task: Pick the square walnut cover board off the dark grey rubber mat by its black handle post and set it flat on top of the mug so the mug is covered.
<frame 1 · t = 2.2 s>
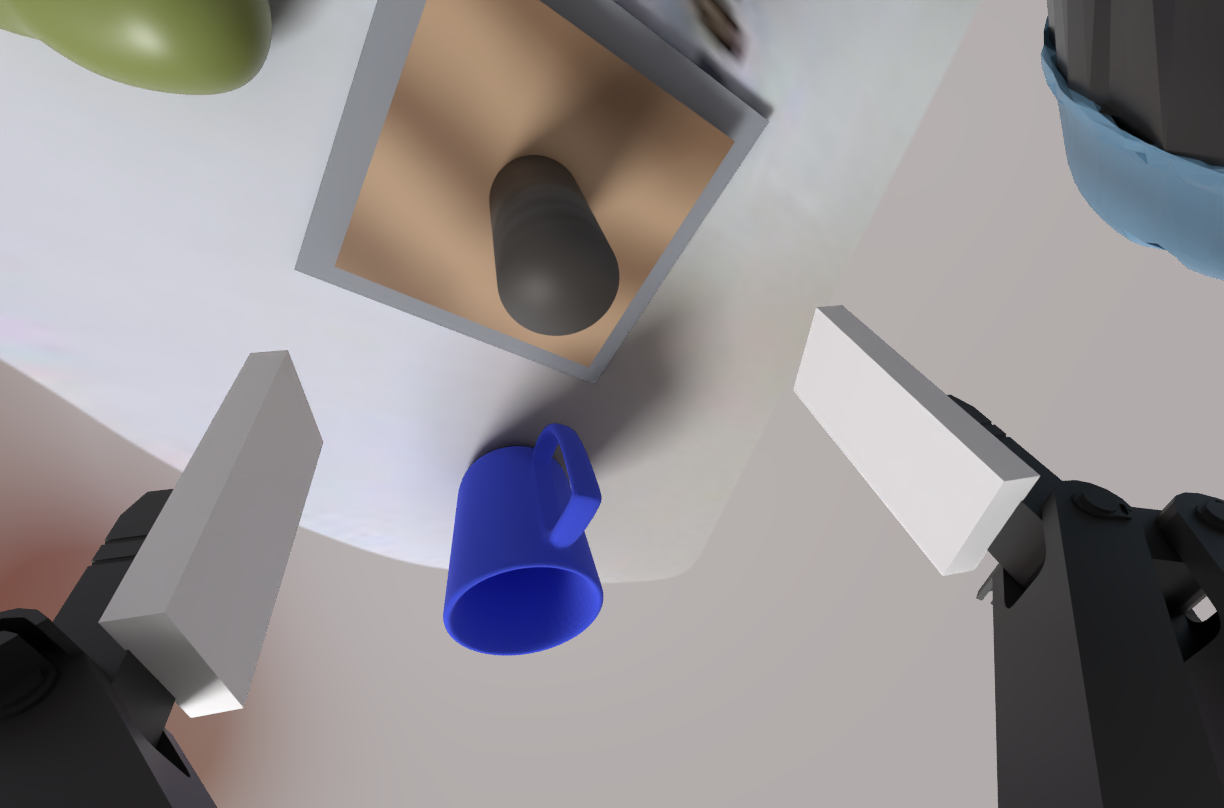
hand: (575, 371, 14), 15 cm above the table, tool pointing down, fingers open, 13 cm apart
mat: (532, 191, 25), on the table
lid: (533, 195, 25), resting on mat
mug: (524, 454, 35), on the table
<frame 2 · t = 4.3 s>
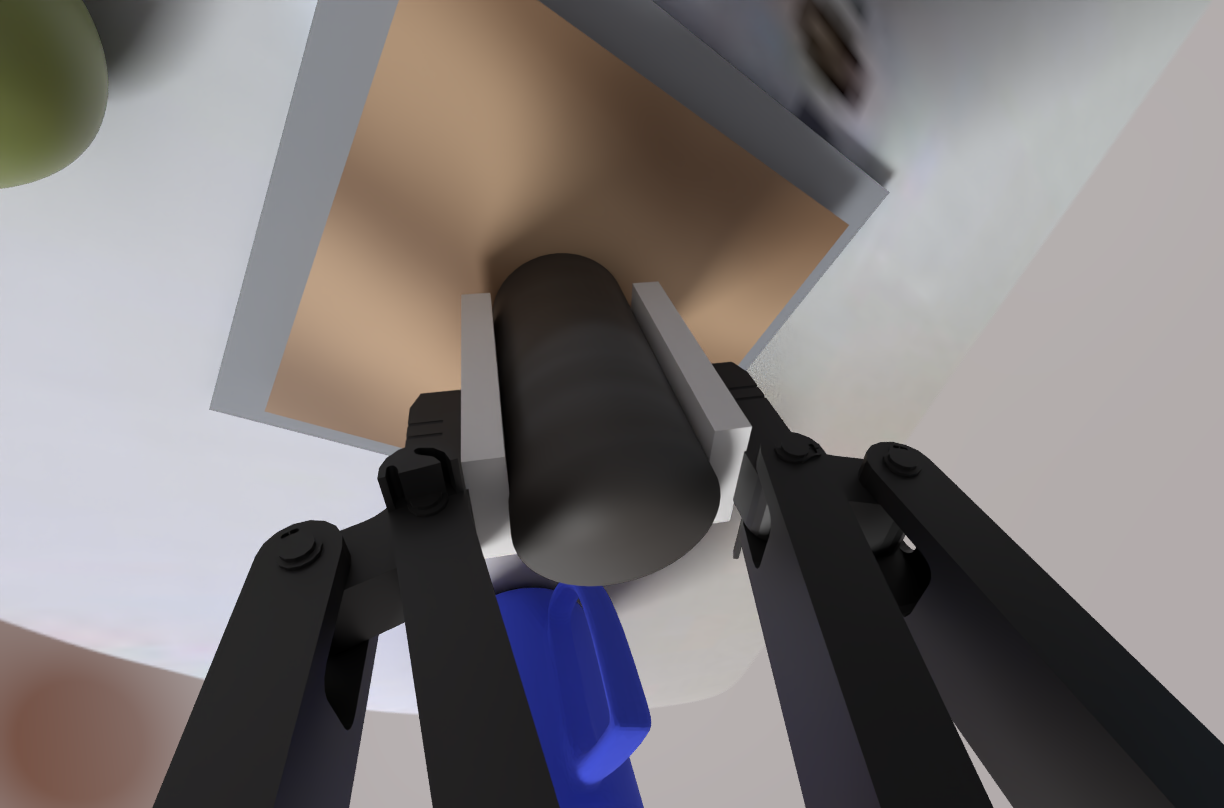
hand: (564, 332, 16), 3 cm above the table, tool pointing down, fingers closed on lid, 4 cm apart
mat: (552, 292, 18), on the table
lid: (555, 299, 17), point 1 cm above the table, touching gripper
mug: (535, 592, 28), on the table
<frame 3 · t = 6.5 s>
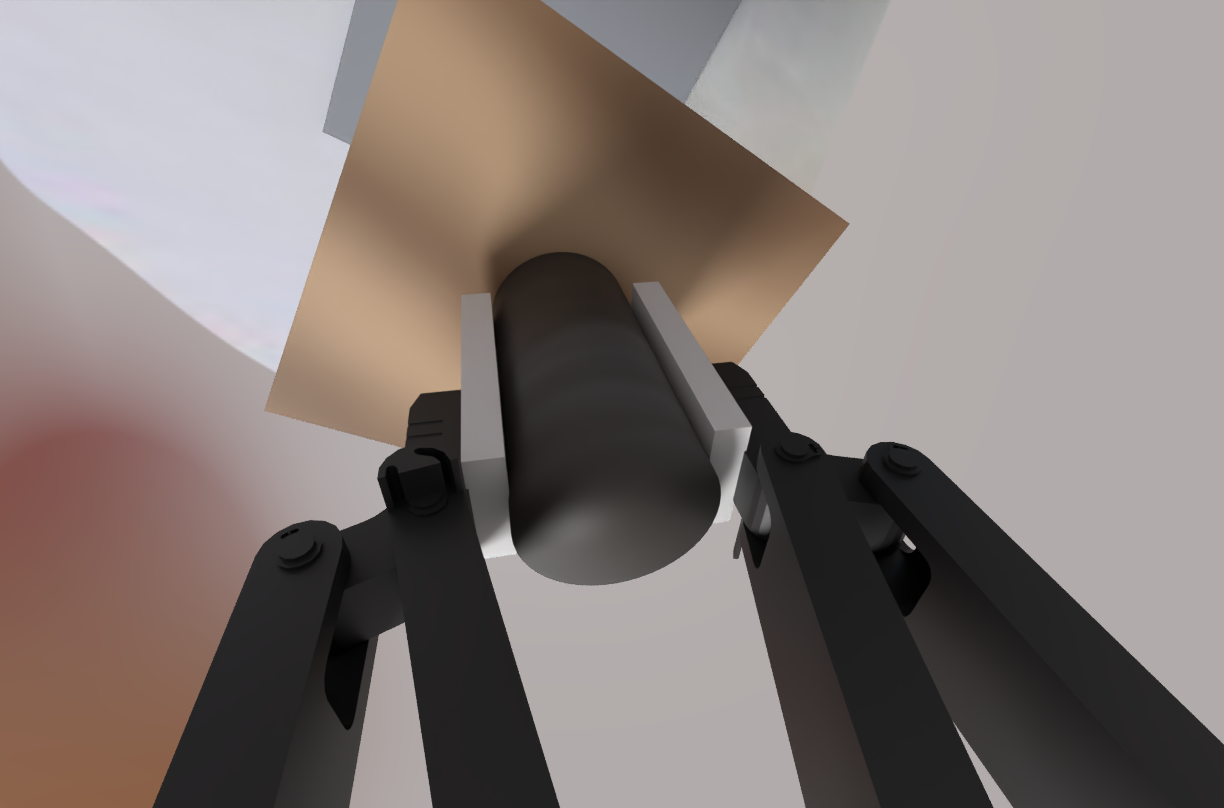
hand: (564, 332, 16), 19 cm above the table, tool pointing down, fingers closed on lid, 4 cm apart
mat: (534, 56, 28), on the table
lid: (555, 298, 17), point 17 cm above the table, touching gripper
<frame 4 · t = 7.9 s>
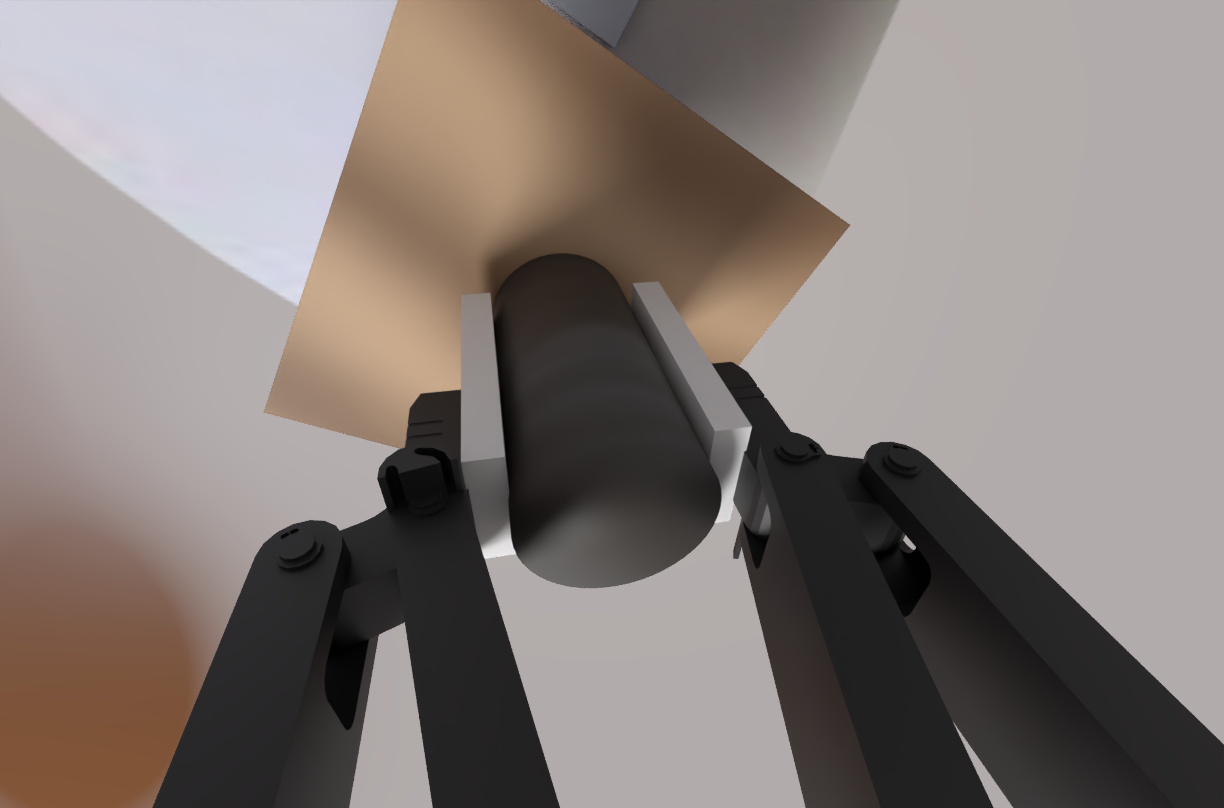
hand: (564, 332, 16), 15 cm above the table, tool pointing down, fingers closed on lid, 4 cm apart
lid: (555, 299, 17), point 13 cm above the table, touching gripper
when the fingers open (14 cm above the table, at t = 8.7 s): lid drops 2 cm, resting on mug.
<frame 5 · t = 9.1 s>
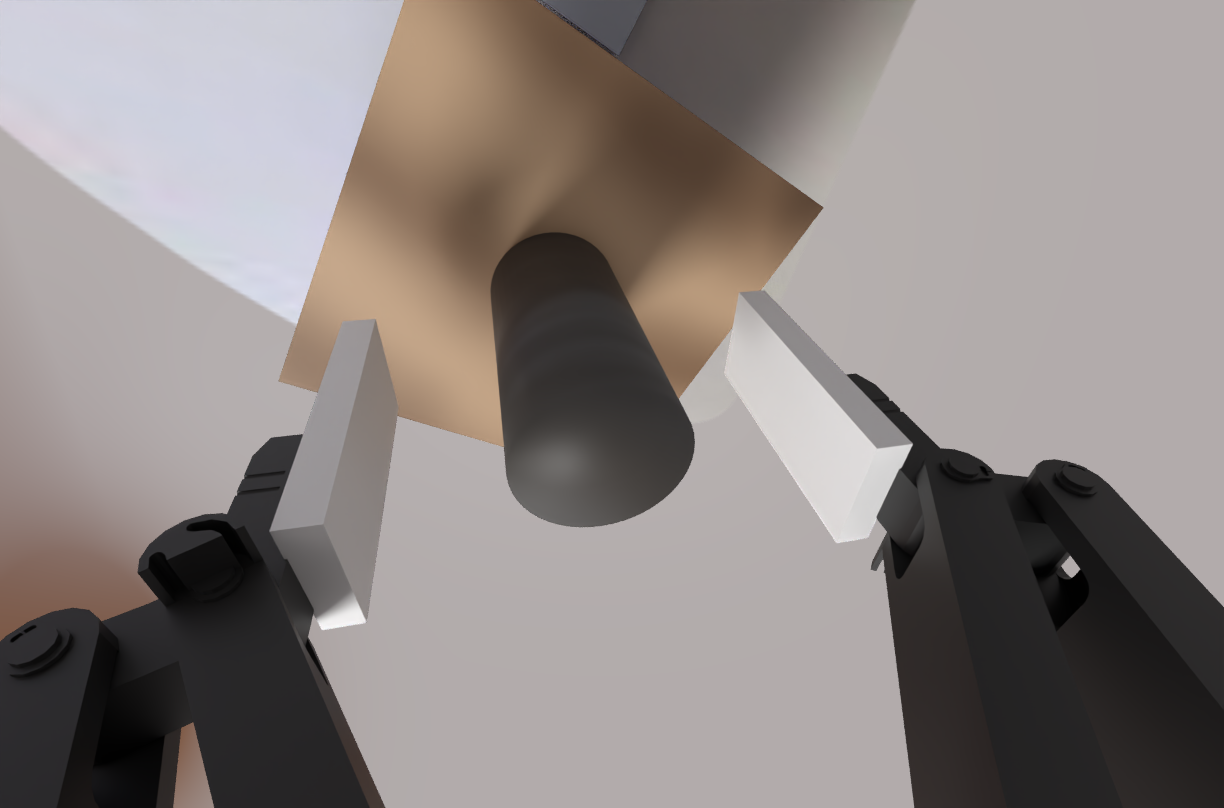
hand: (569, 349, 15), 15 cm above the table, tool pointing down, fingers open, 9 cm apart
lid: (549, 277, 19), point 10 cm above the table, touching mug
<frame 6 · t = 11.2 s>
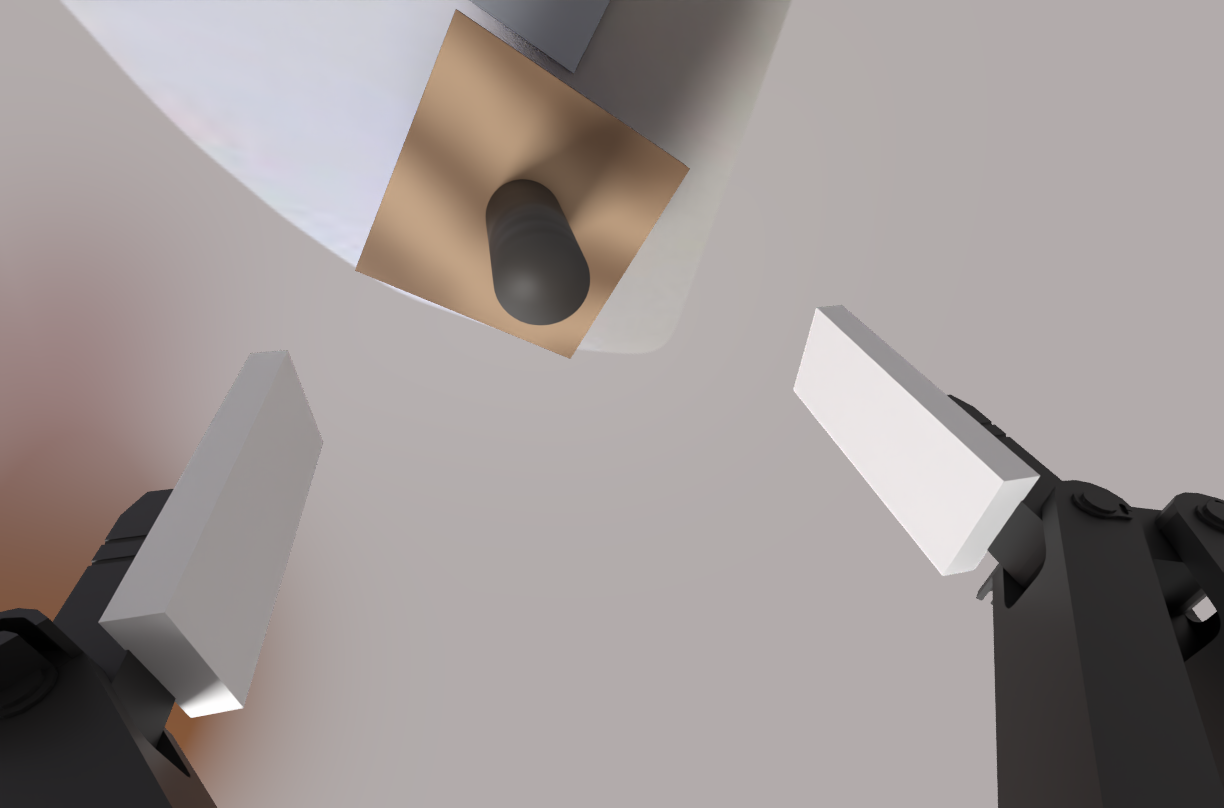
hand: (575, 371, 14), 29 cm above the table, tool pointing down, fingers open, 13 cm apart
lid: (522, 211, 30), point 10 cm above the table, touching mug
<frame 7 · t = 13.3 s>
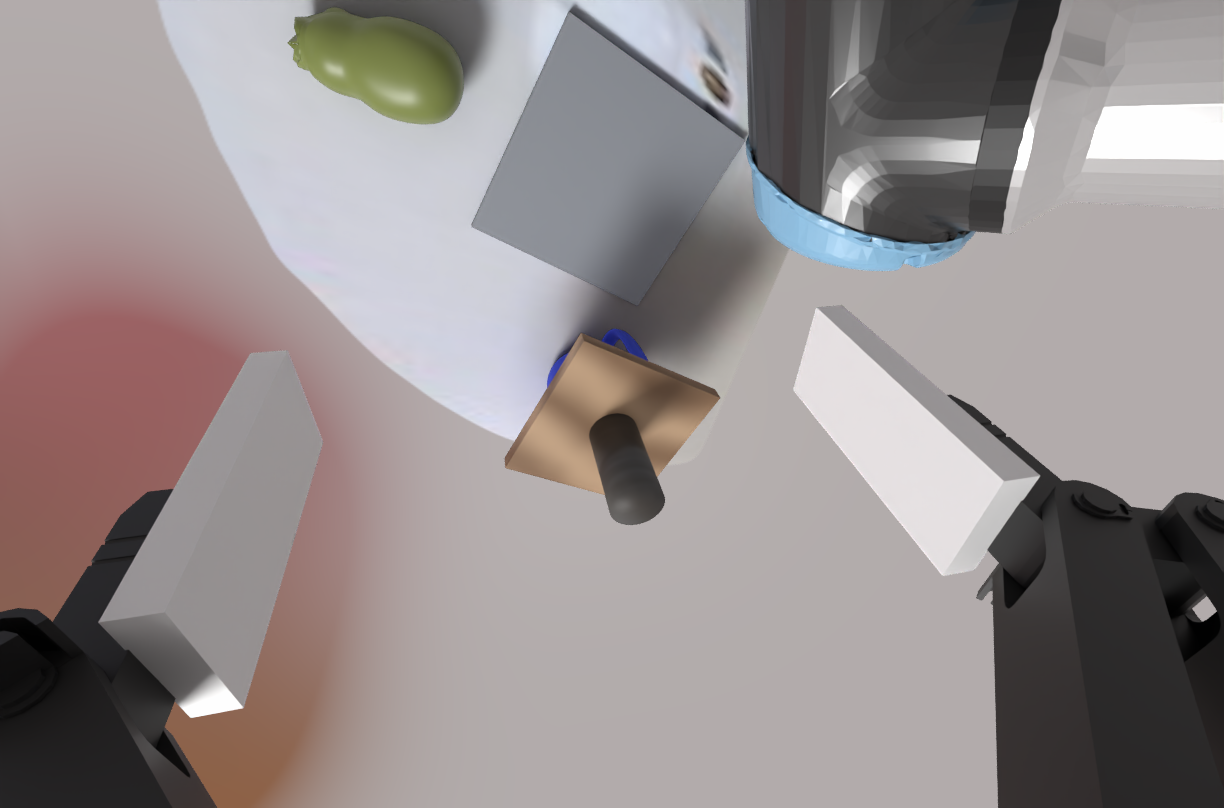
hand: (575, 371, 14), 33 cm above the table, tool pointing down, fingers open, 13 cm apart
mat: (607, 181, 44), on the table
pear: (384, 60, 36), on the table
lid: (610, 423, 46), point 10 cm above the table, touching mug
mug: (588, 357, 54), on the table, touching lid
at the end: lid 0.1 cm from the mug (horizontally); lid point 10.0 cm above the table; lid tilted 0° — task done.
